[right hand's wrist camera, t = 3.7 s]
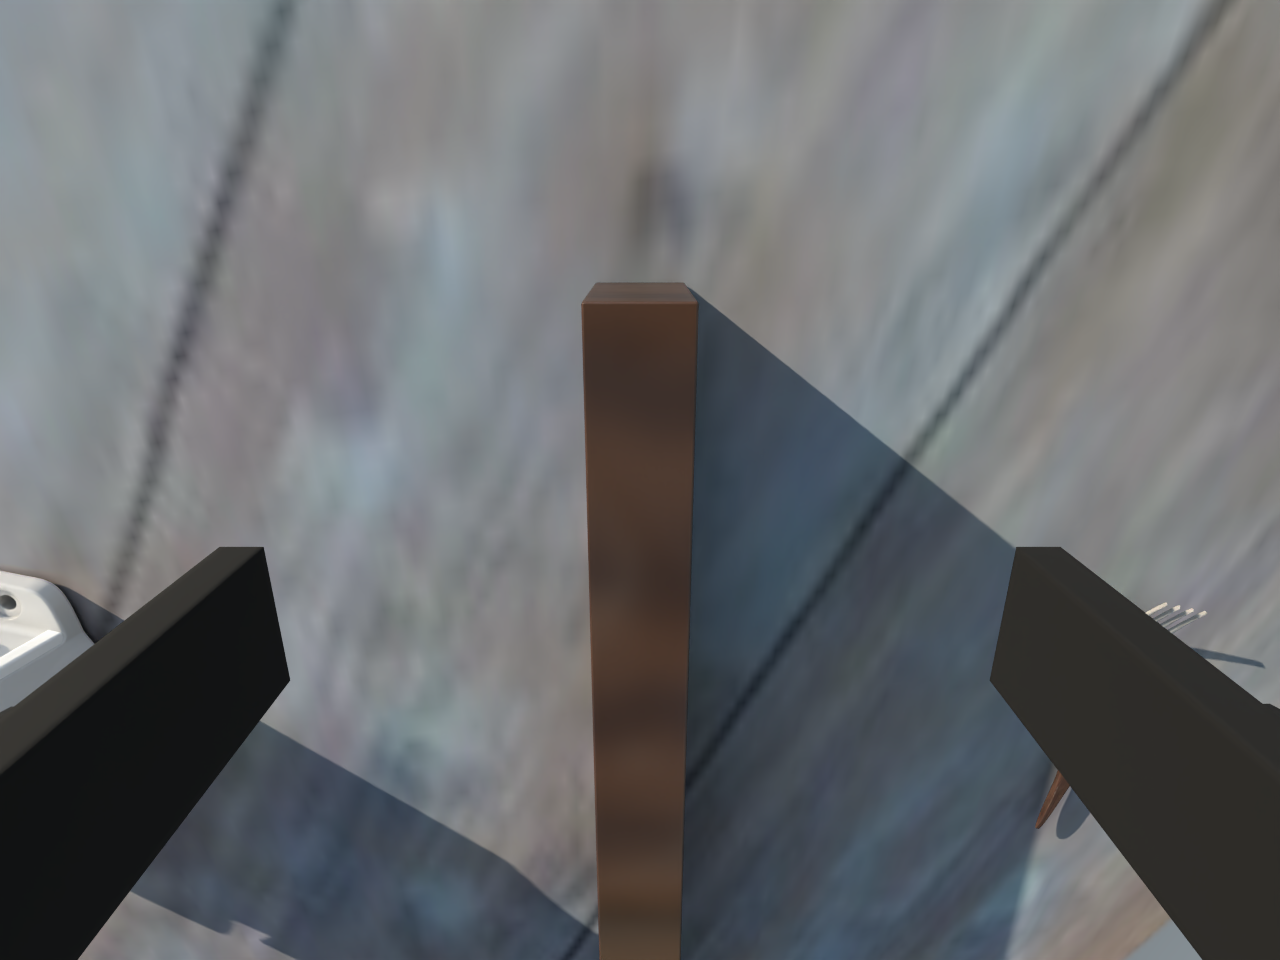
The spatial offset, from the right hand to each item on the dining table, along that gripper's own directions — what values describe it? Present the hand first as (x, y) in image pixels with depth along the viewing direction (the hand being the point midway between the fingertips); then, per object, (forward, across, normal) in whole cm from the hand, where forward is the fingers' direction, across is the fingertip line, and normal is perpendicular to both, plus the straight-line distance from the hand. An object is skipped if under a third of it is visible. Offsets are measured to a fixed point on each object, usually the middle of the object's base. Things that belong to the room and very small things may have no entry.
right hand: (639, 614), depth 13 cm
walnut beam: (+22, 0, +19) cm, 29 cm away
